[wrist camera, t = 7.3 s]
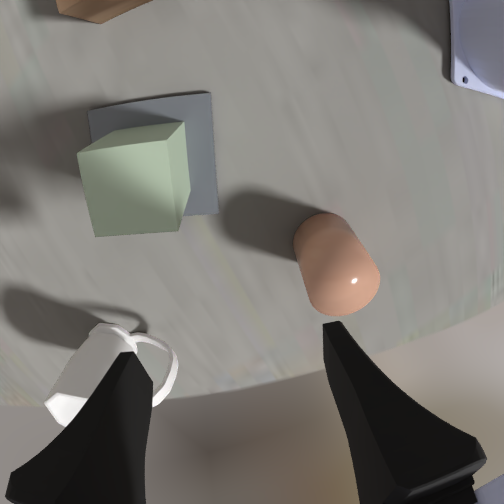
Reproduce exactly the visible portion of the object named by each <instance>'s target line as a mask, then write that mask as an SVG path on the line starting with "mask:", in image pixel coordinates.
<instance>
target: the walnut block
mask: <svg viewBox="0 0 504 504" xmlns="http://www.w3.org/2000/svg"><path fill="white" fill-rule="evenodd" d="M150 1H152V0H56V3H57V7H58V10H59V13H60V14H64V15H68V16H72V17H76V18H80V19H84V20H88V21H91V22H95V23H98V24H102V23H104V22H106V21H108V20H110V19H112V18H114V17H116V16H118V15H121V14H123V13H125V12H127V11H129V10H131V9H134V8H136V7H138V6H140V5H143V4H145V3H148V2H150Z"/></svg>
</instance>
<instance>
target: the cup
mask: <svg viewBox="0 0 504 504" xmlns="http://www.w3.org/2000/svg"><path fill="white" fill-rule="evenodd" d="M88 335H89V338H88V339H86V340H85V341H84V342H83V344H82V345H81V346H80V347H79V348H78V350H77V351H76V352H75V353H74V355H73V356H72V357H71V358H70V360H69V362H68V363H67V365H66V367H65V368H64V370H63V372H62V373H61V375H60V377H59V378H58V380H57V382H56V383H55V385H54V386H53V388H52V390H51V391H50V393H49V395H48V397H47V398H46V400H45V402H44V404H45V405H46V407H47V408H48V410H49V411H50V412H51V414H52V415H53V417H54V418H55V419H56V421H57V422H58V423H60V424H61V425H63V426H65V427H66V426H67V425H68V424H69V423H70V422H71V421H72V420H73V418H74V417H75V416H76V415H77V413H78V412H79V411H80V409H81V408H82V407H83V405H84V404H85V403H86V401H87V400H88V399H89V397H90V396H91V395H92V393H93V392H94V390H95V389H96V387H97V386H98V384H99V383H100V381H101V380H102V378H103V377H104V375H105V374H106V372H107V371H108V369H109V368H110V366H111V365H112V363H113V362H114V361H115V359H116V358H117V356H118V355H119V353H120V352H130V351H134V353H135V354H136V353H137V351H138V350H137V345H136V342H140V341H142V342H147V343H151V344H153V345H156V346H158V347H160V348H162V349H164V350H166V351H167V352H168V353H169V357H170V361H169V365H168V369H167V372H166V374H165V377H164V379H163V381H162V383H161V384H160V386H159V387H158V388H157V389H156V390H155V391H154V392H153V402H152V407H154V406H156V405H158V404H159V403H160V402H161V401H162V400H163V399H164V398H165V397H166V396H167V395H168V393H169V392H170V390H171V388H172V385H173V383H174V381H175V378H176V375H177V370H178V360H177V356H176V354H175V352H174V351H173V350H172V348H171V347H170V346H169V345H168V344H167V343H166V342H165V341H163V340H160V339H158V338H156V337H154V336H151V335H149V334H145V333H139V332H137V333H132V334H130V333H129V332H128V331H126V330H125V329H124V328H122V327H121V326H119V325H117V324H107V323H98V324H97V325H96V326H95V327H94V328H93V329H92V330H91V331H90V332H89V334H88Z"/></svg>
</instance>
